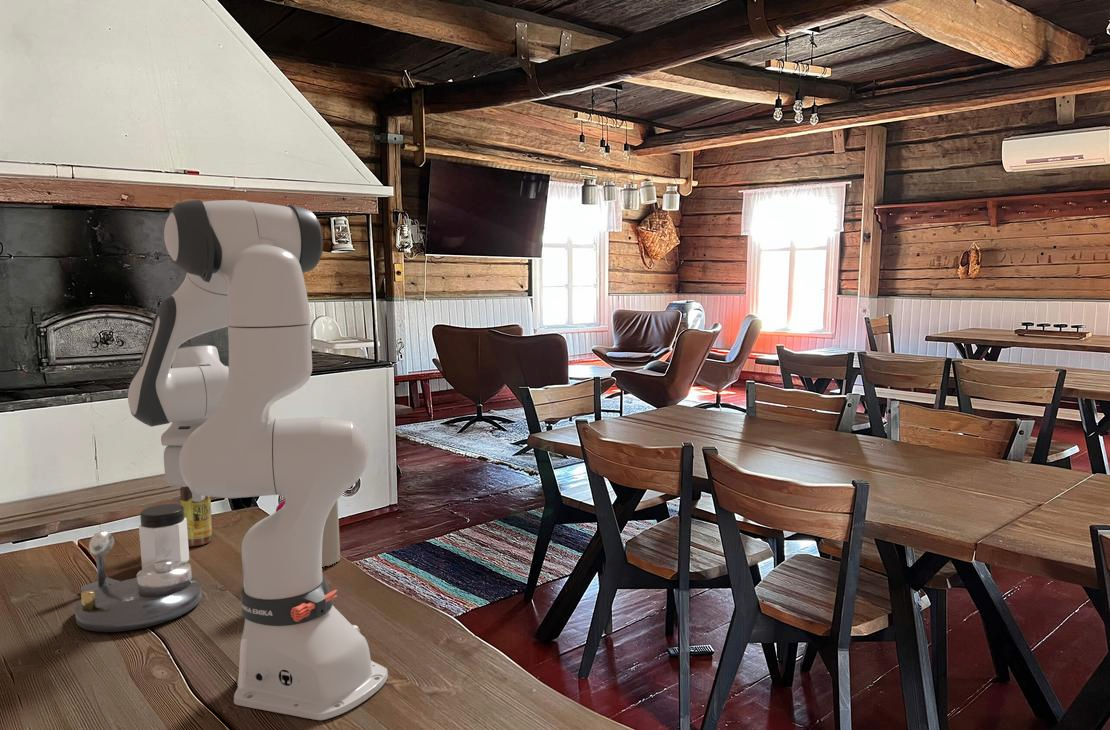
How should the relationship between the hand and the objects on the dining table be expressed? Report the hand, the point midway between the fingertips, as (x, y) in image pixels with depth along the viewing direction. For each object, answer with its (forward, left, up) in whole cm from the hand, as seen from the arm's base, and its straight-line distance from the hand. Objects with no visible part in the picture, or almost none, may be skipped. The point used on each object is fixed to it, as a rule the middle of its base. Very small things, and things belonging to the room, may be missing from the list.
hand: (205, 497), depth 149 cm
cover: (0, +9, -14) cm, 17 cm away
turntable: (0, +14, -17) cm, 22 cm away
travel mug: (-12, -18, -17) cm, 27 cm away
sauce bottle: (+22, -14, -17) cm, 31 cm away
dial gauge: (+14, +12, -17) cm, 25 cm away
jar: (+16, -2, -17) cm, 24 cm away
